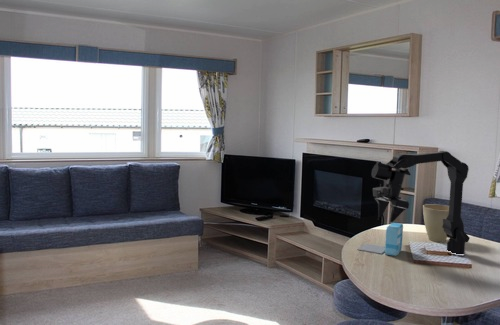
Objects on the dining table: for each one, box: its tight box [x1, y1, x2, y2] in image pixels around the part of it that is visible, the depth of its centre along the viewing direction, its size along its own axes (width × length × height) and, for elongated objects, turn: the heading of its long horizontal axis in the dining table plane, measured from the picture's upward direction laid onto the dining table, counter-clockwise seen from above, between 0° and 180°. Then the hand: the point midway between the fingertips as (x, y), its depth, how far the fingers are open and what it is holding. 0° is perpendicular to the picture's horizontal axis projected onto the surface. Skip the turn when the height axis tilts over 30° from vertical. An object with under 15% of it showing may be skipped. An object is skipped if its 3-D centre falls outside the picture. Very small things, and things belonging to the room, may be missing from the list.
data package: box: [384, 222, 404, 257], centre depth 201 cm, size 12×4×12 cm, turn 151°
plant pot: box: [422, 203, 449, 243], centre depth 223 cm, size 15×15×16 cm
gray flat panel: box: [357, 242, 385, 255], centre depth 206 cm, size 10×11×1 cm
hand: (385, 219), depth 196 cm, fingers open, 9 cm apart
